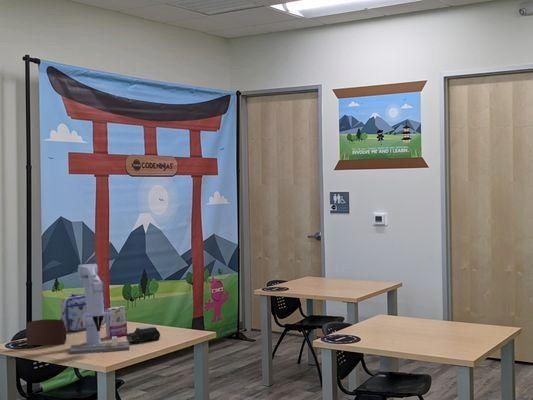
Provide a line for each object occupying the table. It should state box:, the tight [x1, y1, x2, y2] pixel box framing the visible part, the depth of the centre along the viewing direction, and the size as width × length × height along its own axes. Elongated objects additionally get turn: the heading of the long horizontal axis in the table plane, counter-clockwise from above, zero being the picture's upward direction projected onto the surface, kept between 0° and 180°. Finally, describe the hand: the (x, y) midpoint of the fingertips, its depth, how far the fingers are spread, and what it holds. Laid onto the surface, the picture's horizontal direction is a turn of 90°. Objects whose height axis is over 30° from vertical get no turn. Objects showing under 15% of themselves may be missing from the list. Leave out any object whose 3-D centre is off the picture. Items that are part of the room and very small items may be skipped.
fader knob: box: [111, 336, 118, 346], centre depth 371 cm, size 4×2×4 cm, turn 11°
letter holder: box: [25, 318, 67, 347], centre depth 389 cm, size 10×20×14 cm, turn 100°
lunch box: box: [60, 293, 107, 333], centre depth 427 cm, size 28×10×22 cm, turn 133°
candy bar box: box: [105, 305, 128, 339], centre depth 403 cm, size 11×5×16 cm, turn 131°
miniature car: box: [125, 325, 161, 345], centre depth 389 cm, size 9×18×8 cm, turn 125°
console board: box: [68, 340, 130, 355], centre depth 371 cm, size 14×30×2 cm, turn 101°
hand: (98, 330), depth 369 cm, fingers closed
